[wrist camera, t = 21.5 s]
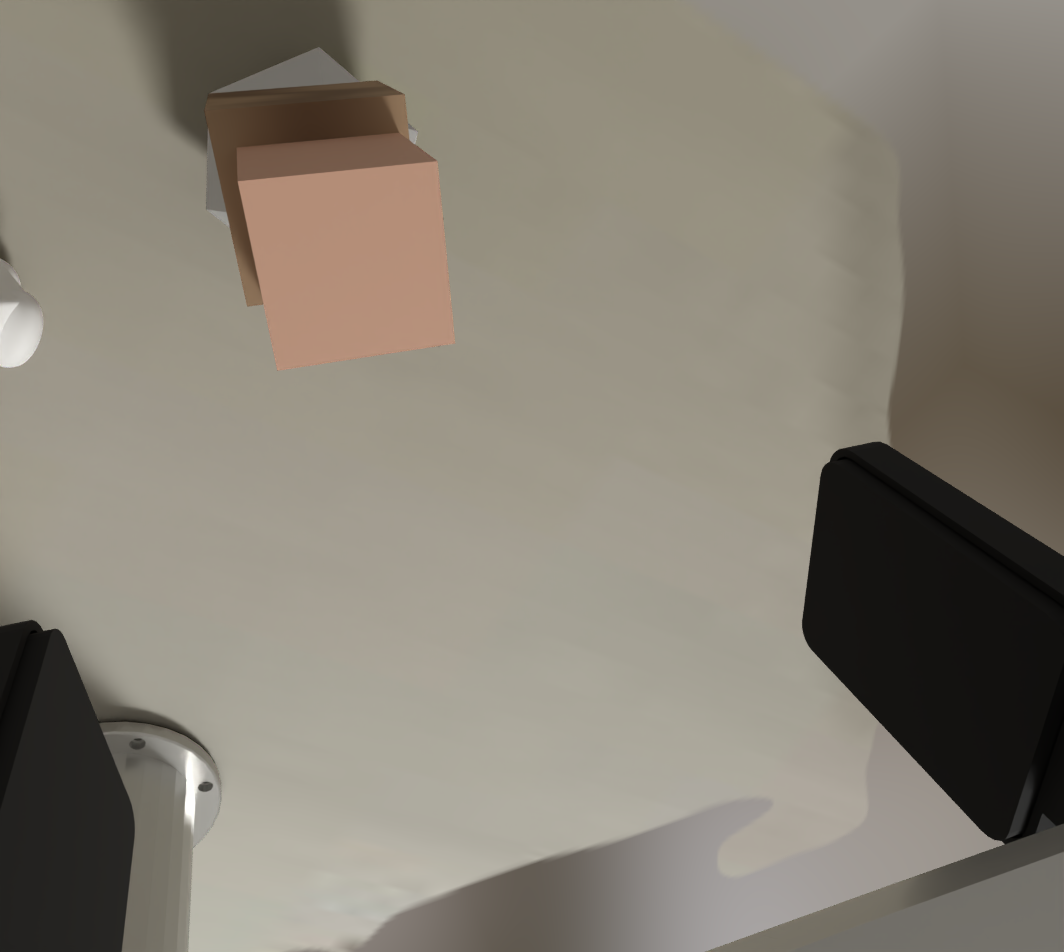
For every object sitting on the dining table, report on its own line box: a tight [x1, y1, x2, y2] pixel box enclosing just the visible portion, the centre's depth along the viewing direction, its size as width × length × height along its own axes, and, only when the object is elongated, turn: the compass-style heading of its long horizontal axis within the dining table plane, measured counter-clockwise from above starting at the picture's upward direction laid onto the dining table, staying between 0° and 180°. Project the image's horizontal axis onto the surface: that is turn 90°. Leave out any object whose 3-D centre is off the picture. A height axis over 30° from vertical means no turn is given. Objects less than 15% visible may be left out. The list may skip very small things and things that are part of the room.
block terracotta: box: [236, 133, 455, 371], centre depth 25 cm, size 5×5×6 cm
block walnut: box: [204, 81, 410, 306], centre depth 30 cm, size 6×6×6 cm
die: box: [206, 47, 418, 228], centre depth 36 cm, size 8×9×10 cm
